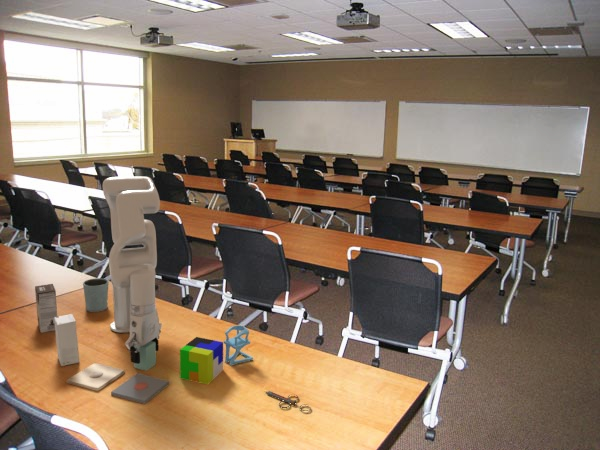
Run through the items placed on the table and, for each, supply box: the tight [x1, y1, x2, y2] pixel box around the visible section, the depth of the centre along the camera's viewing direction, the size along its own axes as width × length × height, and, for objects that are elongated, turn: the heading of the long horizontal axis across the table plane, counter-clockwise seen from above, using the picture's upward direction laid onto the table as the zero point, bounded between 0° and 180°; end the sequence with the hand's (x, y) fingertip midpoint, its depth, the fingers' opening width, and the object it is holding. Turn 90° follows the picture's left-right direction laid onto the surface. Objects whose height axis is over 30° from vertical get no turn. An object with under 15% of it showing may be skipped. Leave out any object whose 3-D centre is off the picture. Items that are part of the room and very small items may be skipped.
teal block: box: [133, 341, 157, 371], centre depth 161 cm, size 5×5×8 cm
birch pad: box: [66, 362, 126, 392], centre depth 153 cm, size 12×12×1 cm
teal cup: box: [82, 277, 109, 313], centre depth 207 cm, size 10×10×12 cm
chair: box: [223, 325, 254, 366], centre depth 167 cm, size 8×8×12 cm
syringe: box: [263, 390, 309, 411], centre depth 144 cm, size 8×18×2 cm, turn 56°
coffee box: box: [34, 283, 58, 334], centre depth 187 cm, size 9×6×16 cm
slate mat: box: [110, 372, 170, 405], centre depth 148 cm, size 12×12×1 cm
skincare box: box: [54, 313, 81, 367], centre depth 162 cm, size 8×6×15 cm
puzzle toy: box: [179, 336, 224, 385], centre depth 157 cm, size 10×10×10 cm
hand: (145, 356), depth 161 cm, fingers open, 9 cm apart
